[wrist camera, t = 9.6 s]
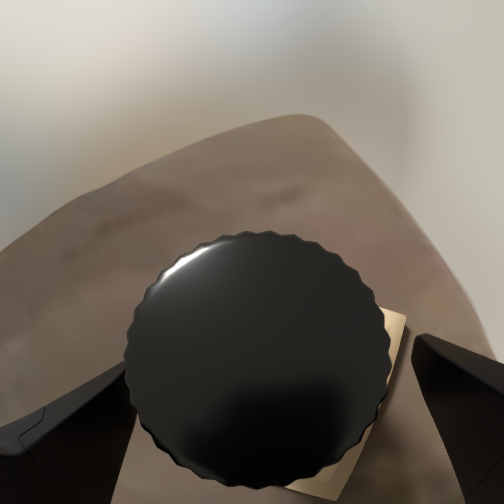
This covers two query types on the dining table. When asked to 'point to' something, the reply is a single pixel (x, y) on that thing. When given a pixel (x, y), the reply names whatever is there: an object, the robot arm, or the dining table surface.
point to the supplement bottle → (257, 359)
